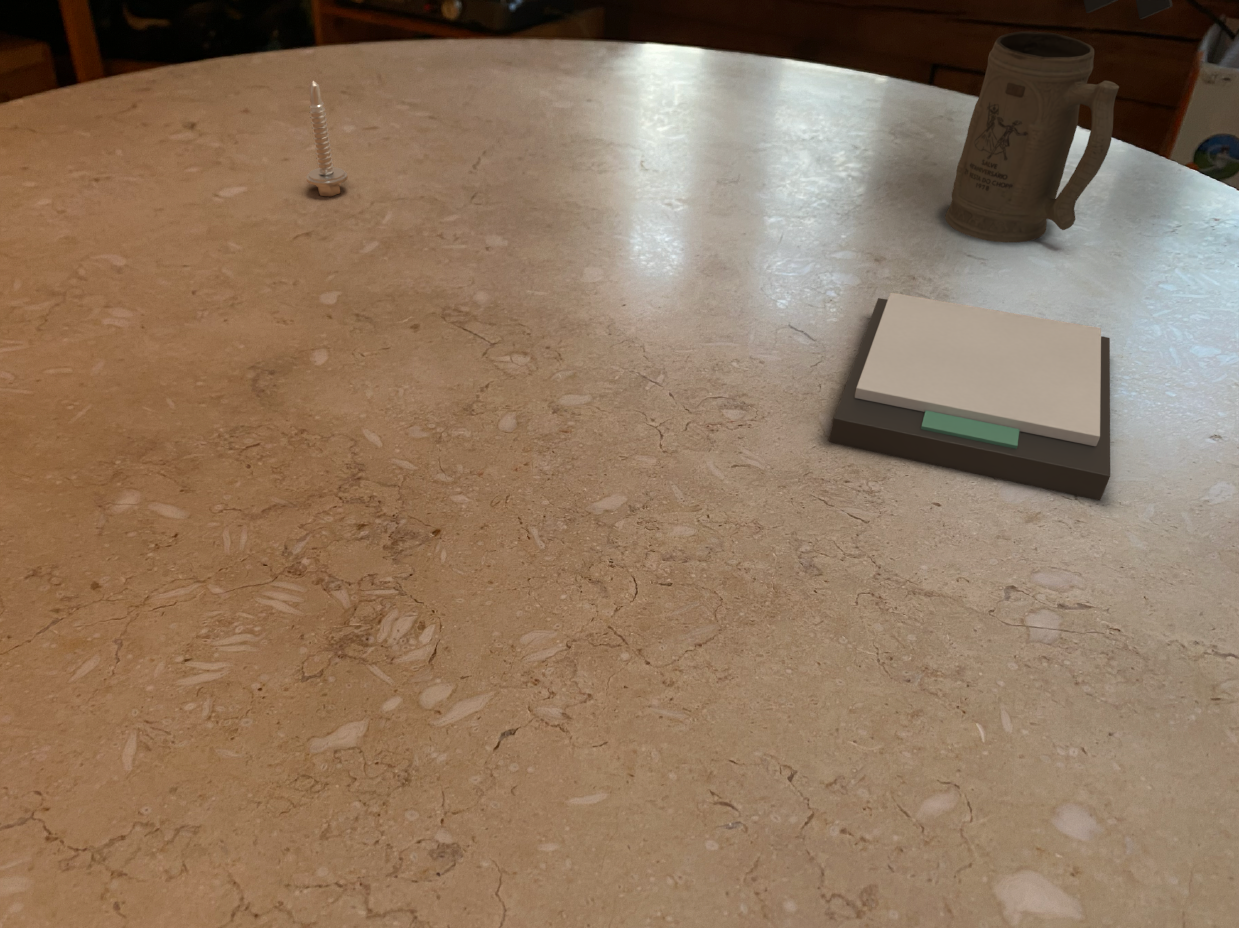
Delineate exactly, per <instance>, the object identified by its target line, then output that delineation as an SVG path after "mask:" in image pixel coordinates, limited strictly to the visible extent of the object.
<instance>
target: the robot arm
mask: <svg viewBox="0 0 1239 928" xmlns="http://www.w3.org/2000/svg"><path fill="white" fill-rule="evenodd" d="M1117 1H1119V0H1083V4H1084V10H1085V13H1087V14H1090V13H1092V12H1095V11H1097V10H1099V9H1101V8H1103V7H1107V6H1109V5H1111V4H1113V3H1116V2H1117ZM1135 4H1136V8H1137V15H1138V19H1139V20H1143V19H1145V18H1146V19H1147V18H1148V17H1150V16H1153V15H1155V14H1157V13H1160V12H1163V11H1165V10H1168V9H1169V8H1173V6H1174V5H1173V0H1135Z"/></svg>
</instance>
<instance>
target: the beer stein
mask: <svg viewBox="0 0 1239 928" xmlns="http://www.w3.org/2000/svg"><path fill="white" fill-rule="evenodd" d="M988 53H989V54H988V58H987V67H986V70H985V75H984V79H983V82H982V85H981V88H980V89H981V90H980V93H979V96H978V98H977V100H976V103H975V105H974V108H973V112H972V114H971V117H970V121H969V125H968V129H967V134H966V138H965V142H964V145H963V148H962V152H961V155H960V158H959V160H958V163H957V167H956V172H955V178H954V182H953V187H952V191H951V202H950V206H949V207H948V209H947V211H946V213H945V217H944V219H945V221H946V223H947V225H949V226H950V228H952V229H954V230H955V231H957V232H959V233H961V234H963V235H965V236H969V237H971V238H975V239H979V240H984V241H988V242H994V243H1023V242H1025V243H1026V242H1029V241H1034V240H1036V239H1040V238H1041V237H1043V236H1044V235H1045V233H1046V232H1047V225H1048V220H1050V221H1052V222H1054V223H1055V225H1056V226H1057V227H1058V228H1059V229H1060V230H1062V231H1065V230H1068V229H1070V228H1071V227H1073V225H1074V224H1075V221H1076V213H1075V212H1076V211H1075V206H1076V203H1077V201H1078V199H1079V198H1080V196H1081V195H1082V194H1083V192H1084V191H1085V189H1086V188H1088V186H1089V184H1090V183H1091V182H1092V181H1093V179H1094V178H1095V177H1096V176H1097V174H1098V173H1099V171H1100V169H1101V167H1102V166H1103V163H1104V161H1105V159H1106V158H1107V155H1108V152H1109V149H1110V147H1111V143H1112V139H1113V138H1112V137H1113V129H1114V107H1115V101H1116V96H1117V95H1118V91H1119V88H1120V86H1119V85H1118V84H1116V82H1113V81H1110V80H1103V81H1102V82H1099V83H1098V84H1097V83H1096V84H1095V83H1088V80H1089V77H1090V76H1091V74H1092V72H1093V70H1094V58H1095V48H1094V47H1093V46H1092V45H1090V44H1089V43H1086V42H1085V41H1082V40H1080V39H1078V38H1075V37H1070V36H1067V35H1063V34H1058V33H1054V32H1045V31H1044V32H1043V31H1014V32H1010V33H1005V34H1002V35H1000V36H999V37H998V38H996V40H995V42H994V44H993V46H992V49H991V50H990V51H989V52H988ZM1081 105H1083V106H1086V107H1088V108H1089V109H1090V113H1091V114H1090V115H1091V125H1090V132H1089V135H1088V140H1087V143H1086V146H1085V149H1084V150H1083V153H1082V155H1081V158H1080V160H1079V161H1078V162H1077V164H1076V167H1075V169H1074V171H1073V173H1072V174H1071V176H1070V177H1069V179H1068V180H1067V182H1066V184H1065V185H1064V186H1063V188H1062V189H1061V191H1060V192H1059V194H1058V191H1059V189H1060V186H1061V182H1062V179H1063V175H1064V172H1065V167H1066V164H1067V160H1068V157H1069V154H1070V151H1071V148H1072V144H1073V141H1074V139H1075V135H1076V132H1077V128H1078V123H1079V113H1080V106H1081ZM1057 194H1058V195H1057Z"/></svg>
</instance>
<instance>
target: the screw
mask: <svg viewBox="0 0 1239 928" xmlns="http://www.w3.org/2000/svg"><path fill="white" fill-rule="evenodd" d="M307 85H308V92H309V101H310V102H309V103H310V106H308V108H310V111H309V113H310V115H311V116H310V117H309V118H310V119H311V122H310V124H311V125H312V127H311V129H312V130H313V132H312V135H314V137H313V140H314V142H313V144H314V145H315V147H314V150H316V152H315V155H317V157H316V160H317V161H318V162H316V164H317V165H318V167H317V168H314V169H312V170H310V171H309V172H308V173H307V174H306V176H305V177H306V182H307V183H308V184H310V185H313V186H316V187H317V191H318V194H319V196H320V197H329V198H330V197H334V196H337V195H339V194H341V187H340V185H341V184H342V183H344V182H346V181H347V180H348V176H349V175H348V172H347V171H345V170H344V169H343V168H341V167H337V166H334V163H333V160H334V159H333V158H332V156H333V153H332V148H331V146H332V145H331V143H330V141H331V139H330V138H329V136H330V133H329V132H328V131H329V128H328V125H329V124H328V122H327V121H328V118H327V117H326V116H327V112H325V111H326V107H325V106H324V105H325V102H324V101H323V100H322V94H321V88H320V84H318V83H317V82H316V81H315V80H312V81H310V82H309V83H308V84H307Z"/></svg>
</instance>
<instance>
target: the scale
mask: <svg viewBox="0 0 1239 928" xmlns="http://www.w3.org/2000/svg"><path fill="white" fill-rule="evenodd" d="M828 442H829V443H831V444H835V445H840V446H844V447H850V448H855V449H860V450H862V451H863V450H864V451H869V452H872V453H878V454H883V455H887V456H892V457H895V458H901V459H906V460H911V461H914V462H920V463H924V464H928V465H933V466H937V467H942V468H947V469H952V470H955V471H956V470H957V471H961V472H966V473H971V474H976V475H979V476H984V477H989V478H993V479H998V480H1003V481H1008V482H1013V483H1016V484H1021V485H1026V486H1031V487H1034V488H1035V487H1036V488H1040V489H1044V490H1049V491H1054V492H1059V493H1063V494H1067V495H1073V496H1078V497H1081V498H1086V499H1089V500H1095V501H1101V499H1102V498H1103V495H1104V492H1105V490H1106V488H1107V485H1108V482H1109V480H1110V478H1111V338H1110V337H1108V336H1103V335H1102V328H1101V327H1097V326H1090V325H1084V324H1080V323H1079V324H1078V323H1073V322H1067V321H1061V320H1056V319H1049V318H1043V317H1037V316H1032V315H1026V314H1020V313H1014V312H1008V311H1002V310H997V309H990V308H986V307H985V308H984V307H979V306H973V305H967V304H961V303H955V302H949V301H944V300H939V299H931V298H926V297H921V296H920V297H919V296H914V295H910V294H909V295H908V294H903V293H896V292H890V293H889V296H888V297H887V298H881V297H878V298H877V300H876V303H875V306H874V308H873V311H872V313H871V315H870V319H869V322H868V324H867V327H866V330H865V332H864V335H863V338H862V339H861V343H860V346H859V348H858V350H857V354H856V357H855V360H854V361H853V364H852V367H851V370H850V373H849V376H848V378H847V381H846V384H845V386H844V389H843V391H842V394H841V397H840V399H839V403H838V405H837V407H836V410H835V413H834V415H833V419H832V423H831V430H830V434H829V438H828Z"/></svg>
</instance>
